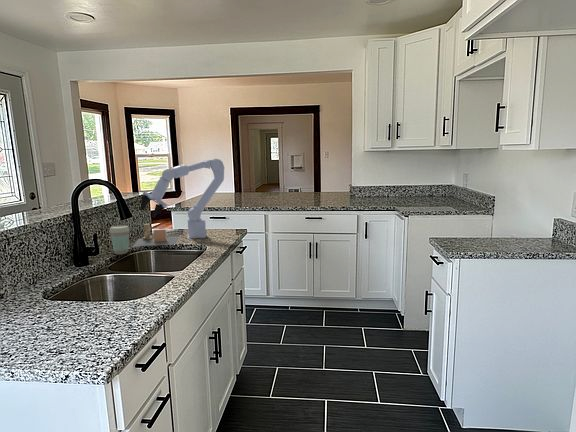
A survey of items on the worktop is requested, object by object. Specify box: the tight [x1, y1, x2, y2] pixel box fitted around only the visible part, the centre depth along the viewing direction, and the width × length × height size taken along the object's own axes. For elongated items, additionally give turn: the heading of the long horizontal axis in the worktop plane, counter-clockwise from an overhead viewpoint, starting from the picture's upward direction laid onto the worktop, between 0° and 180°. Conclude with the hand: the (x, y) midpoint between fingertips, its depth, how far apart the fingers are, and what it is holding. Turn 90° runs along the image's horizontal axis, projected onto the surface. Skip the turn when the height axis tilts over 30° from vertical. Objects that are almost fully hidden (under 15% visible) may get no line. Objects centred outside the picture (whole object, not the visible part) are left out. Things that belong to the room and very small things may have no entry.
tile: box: [153, 228, 168, 242], centre depth 194 cm, size 6×2×6 cm, turn 102°
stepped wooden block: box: [142, 223, 153, 240], centre depth 198 cm, size 4×4×8 cm
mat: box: [131, 236, 179, 248], centre depth 194 cm, size 20×18×1 cm
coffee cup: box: [109, 225, 130, 255], centre depth 173 cm, size 8×8×12 cm
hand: (147, 213), depth 198 cm, fingers open, 7 cm apart
